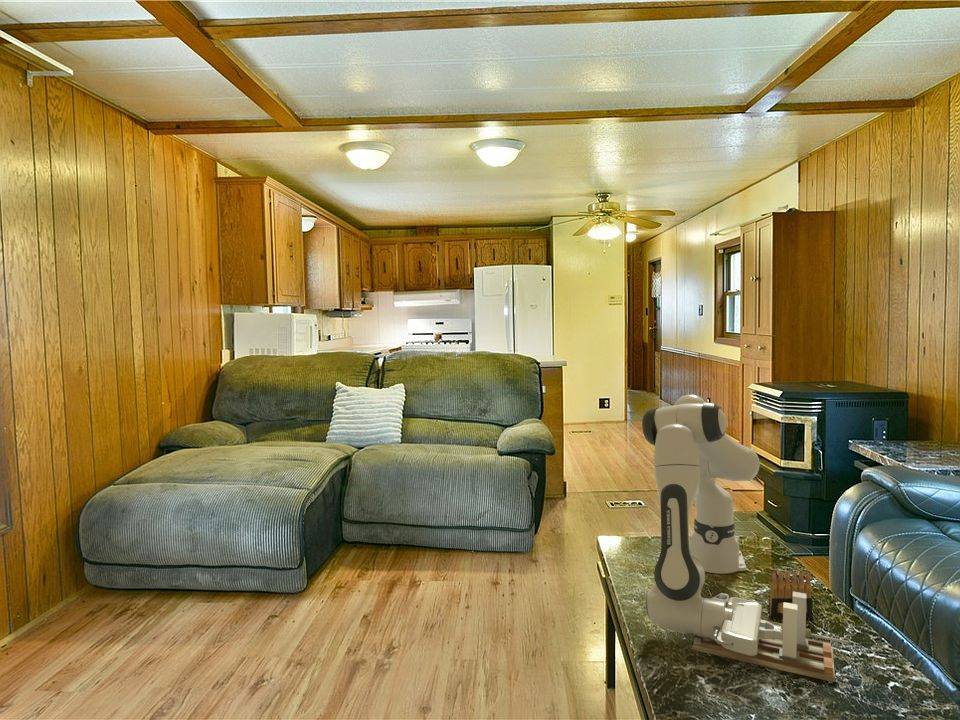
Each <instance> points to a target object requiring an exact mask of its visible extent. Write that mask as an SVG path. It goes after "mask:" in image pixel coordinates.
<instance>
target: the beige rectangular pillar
mask: <svg viewBox="0 0 960 720" xmlns="http://www.w3.org/2000/svg"><path fill="white" fill-rule="evenodd" d="M782 624H783V639H782V648H780V650H779V658H782V659H786V660H791V661H795V662H799V652H797V651H796V649H797V605H796V604H791V603H785V602H784V603H783V618H782Z"/></svg>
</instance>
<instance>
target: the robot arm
mask: <svg viewBox="0 0 960 720" xmlns="http://www.w3.org/2000/svg"><path fill="white" fill-rule="evenodd" d="M641 421H642V422H641V426H642V427H641V428H642V433H643V437H644V438H645V440H646V441H647V442H648V443H649V444H650V445H652V446H654V455H653V457H654V460H653V461H654V462H653V464H654V477H655V485H656V491H657V495H658V500H659V508H660V533H661V534H660V536H661V537H660V538H661V542H660V543H661V545H660V546H661V547H660V554H659V557H658V559H657V562H656V565H655V567H654V573H653V578H654V583H655V584H654V585H653V586H652V587H651V589H650V590H648V591H647V594H646V599H645V601H646V602H645V607H646V612H647V615H648V619H649V621H651V622H652V623H653V624H654V625H656V626H658V627H660V628H662V629H666V630H670V631H672V632H677V633H682V634H688V633H690V634H694V635H695V634H696V635H698V636H700V637H704V638H708V639H713V640H715V641H716V642H717V643H718V644H721V645H722V646H723V647H724V648H726V649H729V650H731V651H735V652H738V653H741V654H745V655H749V656H754V655H757V650H758V643H759V638H760V639H764V640H765V639H773V638H774V639H779V640H781V639H782V634H783V628H782V627H781V626H777V625H774V624H772V623H770V622H769V621H768V620H765V619H763V605H762V604H761V603H759V602H757V601H755V600H752V599H751V600H750V599H747V598H743V597H742V598H741V597H736V596H732V597H730V595H729V594H728V593H724V592H721V593H719V594H717V595H715V596H713V597H710V598H707V597H703V596H702V595H701V594H702V591H703V588H704V584H705V583H706V582H705V581H706V573H711V574H723V575H724V574H733V573H736V572H744V571H747V566H746V562H745V559H744V556H743V554H742V551H741V550H740V543H739V542H738V539H737V538H736V536H735V534H736V533H735V532H736V526H735V522H734V504H735V503H734V499H733V497H732V495H731V493H729V492H728V491H727V490H726V489H724V488H723V487H722V486H721V485H720V484H719V482H718V481H717V479H720V480H725V481H733V482H747V481H752V480H753V479H754V478H755V477H756V476H757V475H758V473H759V470H760V466H761V463H760V459H759V455H758V454H757V453H756V451H755V450H754V449H752V448H750V447H747V446H745V445H743V444H742V443H739V442H737V441H736V440H735V439H734V438H732V437H731V436H730V435H728V434H727V433H726V429H727V419H726V415H725V413H724V411H723V409H722V408H721V407H720V405H718V404H717V403H713V402H706V401H705V400H704V399H703V398H702V397H701V396H699V395H697V394H686V395H685V394H684V395H682V396H680V397H679V398H678V399H677V400H676V401H675V402H674V404H673V405H668V406H664V407H658V406H657V407H655V408H651V409H649V410H646V412H645V413H644V414H643V416H642V420H641ZM693 503H695V518H694V519H693V532H692V533H691V534H690V525H689V518H690V517H689V516H690V510H691V507H692V505H693Z"/></svg>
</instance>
